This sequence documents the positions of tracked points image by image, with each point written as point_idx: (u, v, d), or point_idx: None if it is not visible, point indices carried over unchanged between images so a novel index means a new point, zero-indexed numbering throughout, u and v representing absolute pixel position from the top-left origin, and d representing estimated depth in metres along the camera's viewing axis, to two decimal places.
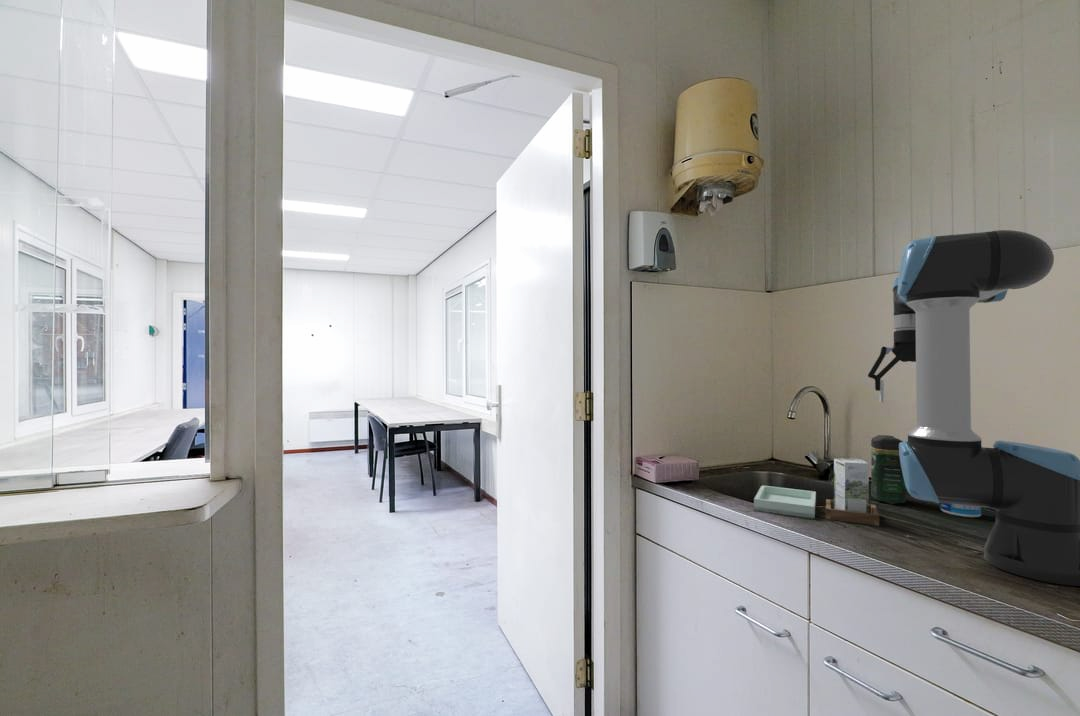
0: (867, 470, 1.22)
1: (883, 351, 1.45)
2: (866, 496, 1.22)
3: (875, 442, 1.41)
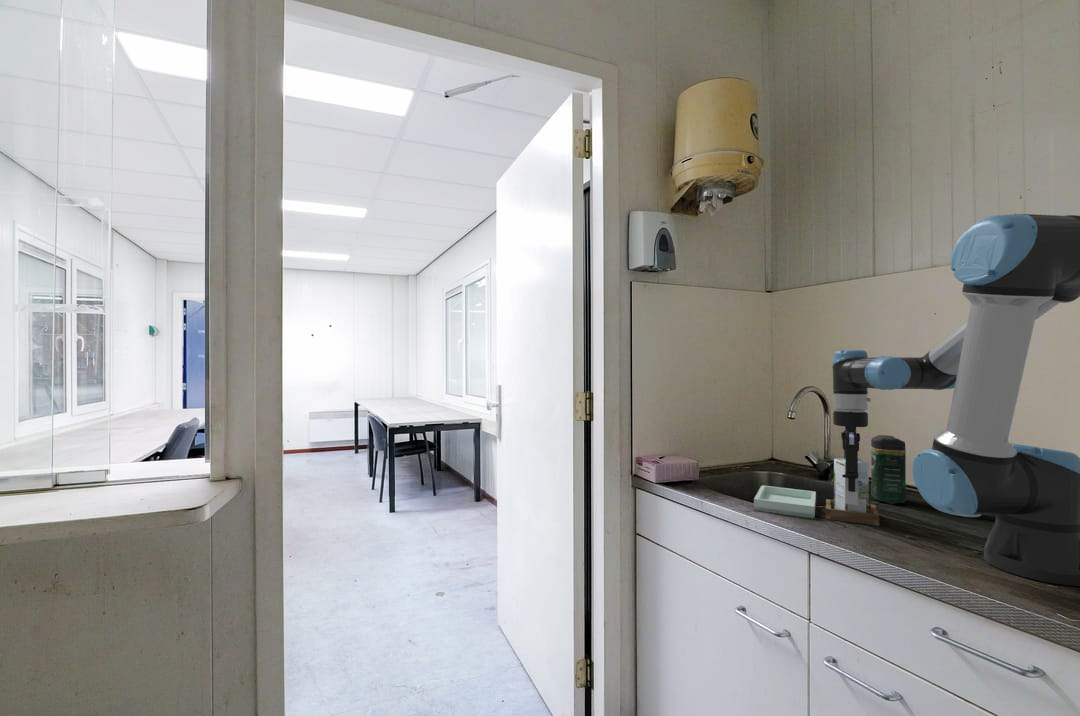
0: (867, 470, 1.22)
1: None
2: (866, 496, 1.22)
3: (875, 442, 1.41)
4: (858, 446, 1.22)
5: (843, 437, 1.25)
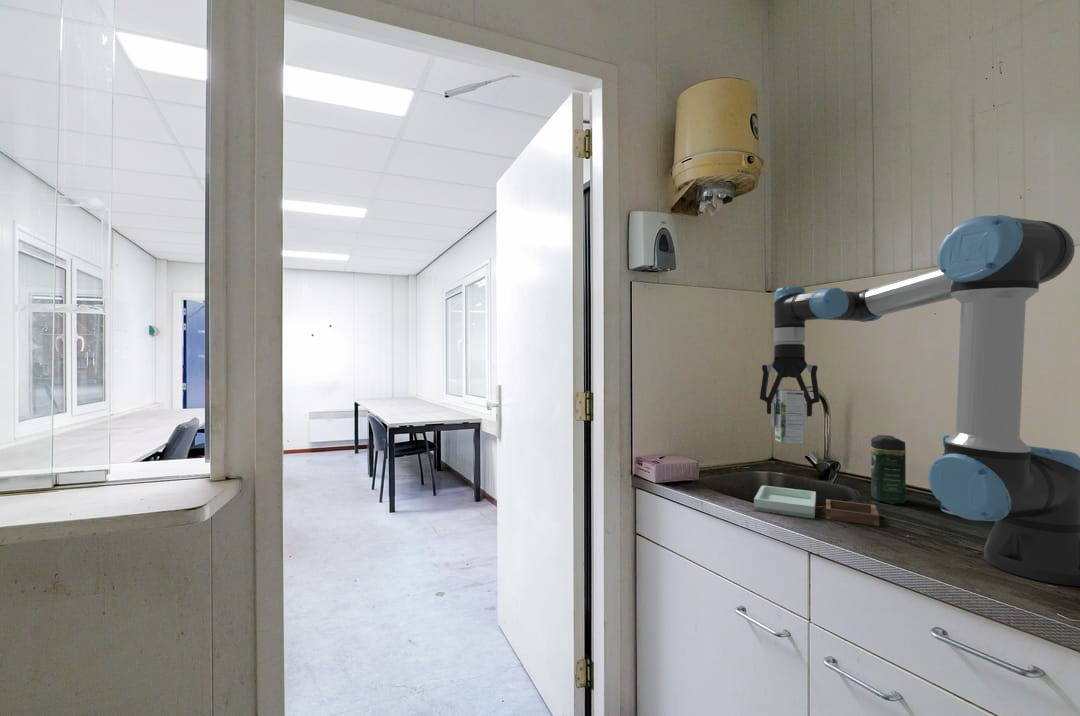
0: None
1: (764, 370, 1.37)
2: None
3: (875, 442, 1.41)
4: None
5: (797, 368, 1.32)
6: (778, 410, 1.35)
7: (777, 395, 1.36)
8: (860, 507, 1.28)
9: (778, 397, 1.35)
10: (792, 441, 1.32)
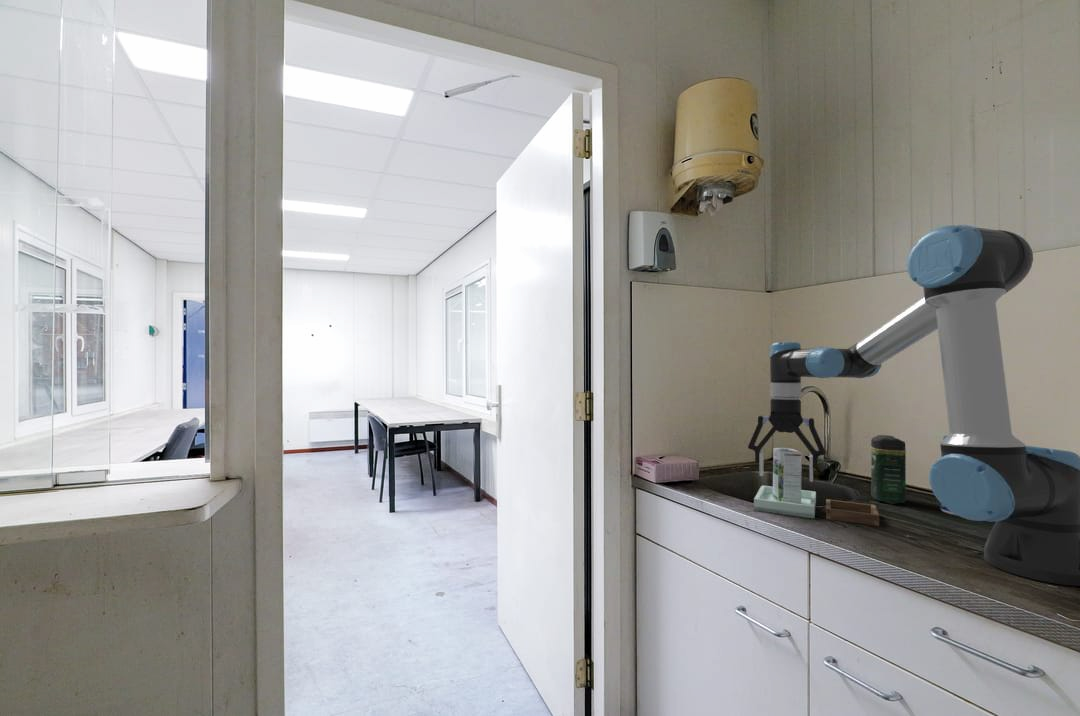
0: None
1: (760, 421, 1.37)
2: None
3: (875, 442, 1.41)
4: None
5: (793, 423, 1.32)
6: (776, 470, 1.35)
7: (775, 455, 1.36)
8: (860, 507, 1.28)
9: (776, 457, 1.35)
10: None
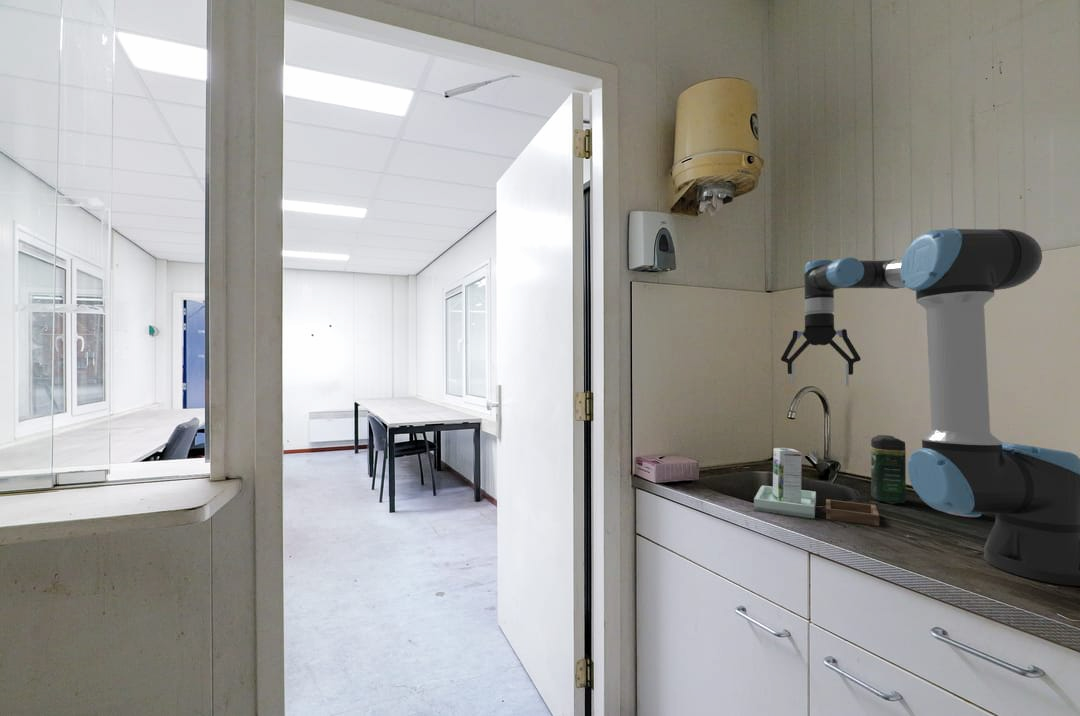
0: None
1: (794, 335, 1.47)
2: None
3: (875, 442, 1.41)
4: None
5: (827, 335, 1.42)
6: (776, 470, 1.35)
7: (775, 455, 1.36)
8: (860, 507, 1.28)
9: (776, 457, 1.35)
10: None
